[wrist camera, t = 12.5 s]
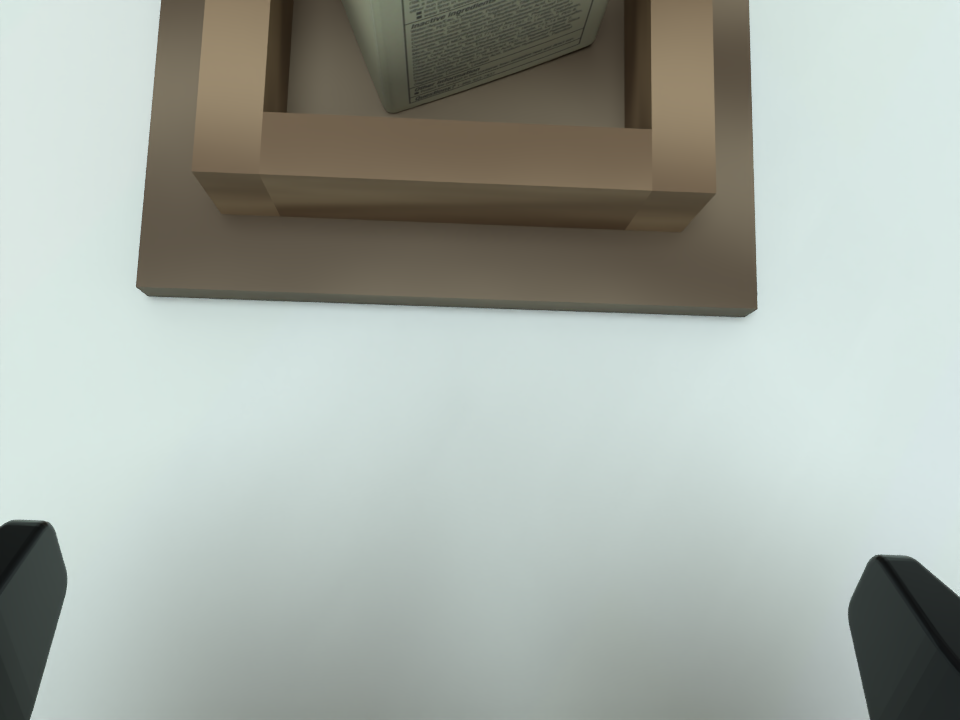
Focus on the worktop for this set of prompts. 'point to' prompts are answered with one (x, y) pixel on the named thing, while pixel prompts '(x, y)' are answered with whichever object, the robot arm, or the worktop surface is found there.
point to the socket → (453, 168)
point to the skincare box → (462, 41)
